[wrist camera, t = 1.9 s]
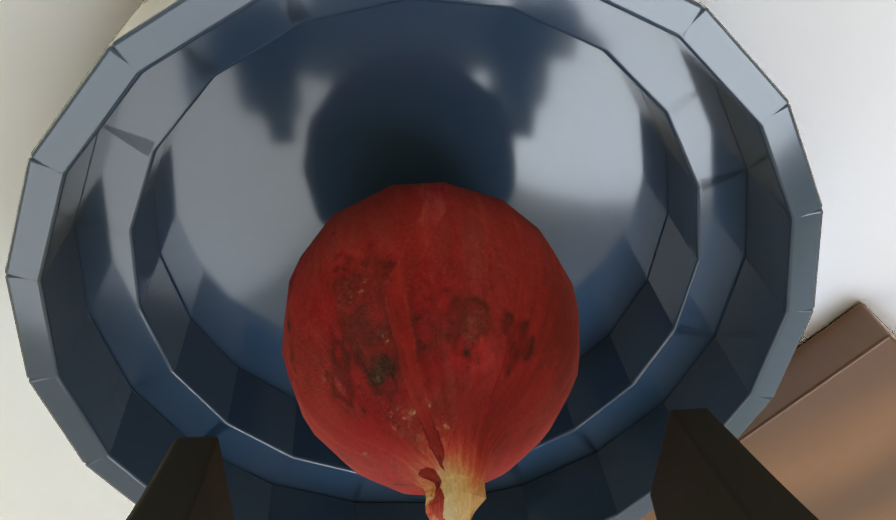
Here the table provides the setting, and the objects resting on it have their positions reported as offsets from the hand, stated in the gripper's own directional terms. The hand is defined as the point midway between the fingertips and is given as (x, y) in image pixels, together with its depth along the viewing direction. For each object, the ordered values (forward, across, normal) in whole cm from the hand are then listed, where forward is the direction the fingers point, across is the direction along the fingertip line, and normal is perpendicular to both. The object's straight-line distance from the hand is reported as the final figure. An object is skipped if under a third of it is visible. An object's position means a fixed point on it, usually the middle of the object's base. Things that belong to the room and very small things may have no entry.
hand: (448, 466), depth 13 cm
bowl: (+8, 0, 0) cm, 8 cm away
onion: (+7, 0, 0) cm, 7 cm away
